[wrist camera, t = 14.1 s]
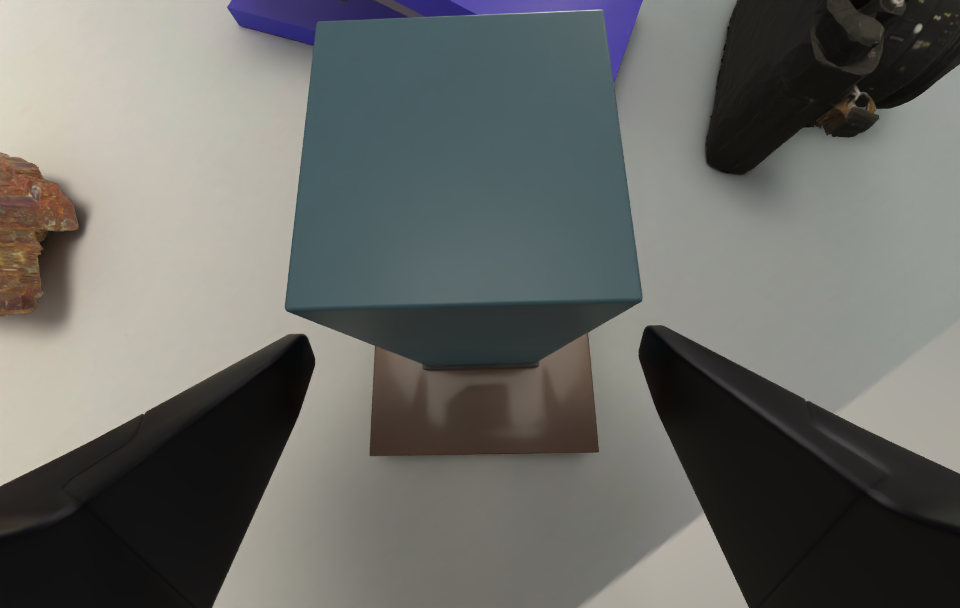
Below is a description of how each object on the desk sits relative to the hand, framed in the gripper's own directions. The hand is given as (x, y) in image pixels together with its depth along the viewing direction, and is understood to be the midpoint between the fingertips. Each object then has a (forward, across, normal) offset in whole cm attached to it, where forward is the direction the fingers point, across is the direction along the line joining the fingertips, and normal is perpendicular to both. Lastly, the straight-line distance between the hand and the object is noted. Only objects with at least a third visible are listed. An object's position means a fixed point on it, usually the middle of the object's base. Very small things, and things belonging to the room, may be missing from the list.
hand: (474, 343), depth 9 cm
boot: (+10, 0, +3) cm, 10 cm away
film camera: (+21, -21, -6) cm, 31 cm away
